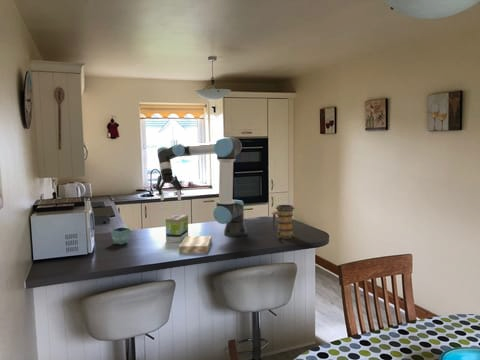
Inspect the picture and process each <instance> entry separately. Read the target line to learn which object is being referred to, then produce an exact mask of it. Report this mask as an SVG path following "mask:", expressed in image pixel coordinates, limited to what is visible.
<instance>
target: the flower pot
mask: <svg viewBox="0 0 480 360" xmlns="http://www.w3.org/2000/svg"><path fill="white" fill-rule="evenodd" d="M110 234H111V238H112V241H113V243H114V244H115V245H116V244H117V245H124V244H127V243H128V241H129V240H130V236H131V228H127V227H122V226H121V227H116V228H114V229H111V230H110Z"/></svg>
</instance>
